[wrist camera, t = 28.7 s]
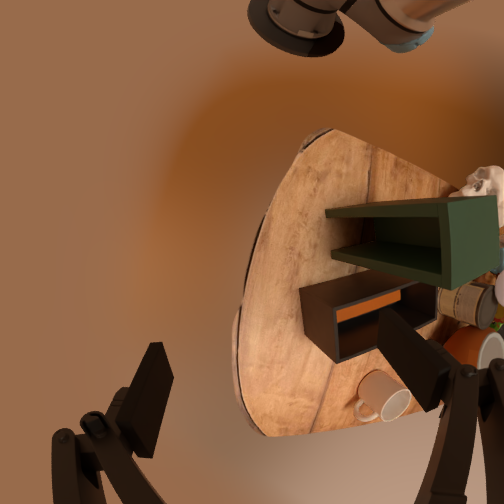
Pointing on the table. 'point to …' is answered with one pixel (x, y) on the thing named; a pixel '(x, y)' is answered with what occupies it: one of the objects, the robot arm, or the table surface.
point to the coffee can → (469, 304)
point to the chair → (500, 268)
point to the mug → (381, 397)
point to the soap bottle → (500, 288)
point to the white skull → (485, 187)
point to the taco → (498, 318)
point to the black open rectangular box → (365, 325)
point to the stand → (428, 238)
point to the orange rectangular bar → (367, 306)
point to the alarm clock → (475, 346)
